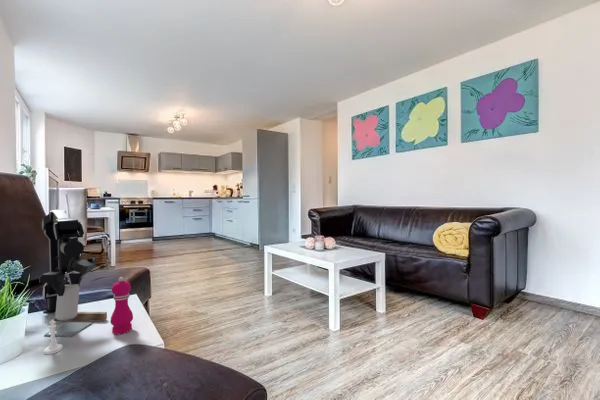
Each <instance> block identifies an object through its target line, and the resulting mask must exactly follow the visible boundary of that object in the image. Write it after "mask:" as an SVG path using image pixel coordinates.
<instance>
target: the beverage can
mask: <svg viewBox="0 0 600 400" xmlns="http://www.w3.org/2000/svg"><path fill="white" fill-rule="evenodd" d="M79 299H80V285H79V286H78V284H71V283H70V284H65V291H64V294H63V296H58V294H57V303H56V314H55V313H54V319H55V318H56V319H57V320H66V319H72V318H75V316H77V312H79V311H78V309H79Z"/></svg>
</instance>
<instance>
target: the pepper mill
mask: <svg viewBox="0 0 600 400" xmlns="http://www.w3.org/2000/svg"><path fill="white" fill-rule="evenodd" d="M117 280H118V281H116V282H114V284H113V285H112V286H111V293H112V294H113V300H114V301H115V304H114V309H113V312H112V314H111V317H110V325H112V327H111V333H112V334H113V335H124V334H126V333H128V332H130V331H131V330H132V327H133V325H132V321H133V320H134V314H133V312H132V310H131V308H130V306H129V301H128V300H129V298H130V291H131V283H130V282H129V281H128V280H125V278H124V277H123V276H120V277H119V278H118V279H117Z"/></svg>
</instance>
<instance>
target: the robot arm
mask: <svg viewBox="0 0 600 400" xmlns="http://www.w3.org/2000/svg"><path fill="white" fill-rule="evenodd" d="M41 229H42V231H43V234H44V235H45V237H46V238H47V239H48V249H49V250H48V252H49V257H48V258H49V271H48V272H45V273H43V274H41V275H40V276H38V280H39V281H38V282H39V284H43V287H42V298H43V300H45V304H46V305H45V308H46V310H43V311H42V313H49V314H50V313H51V314H55V313H56V303H57V294H58V296H63V294H64V291H65V284H78V286H79V287H80V285H81V283H82V279H83V277H84V276H86V275H87V274H89V273H91V272H92V271H93V270H94V268H95V267H97V264H96V263H97V261H96V258H95V257H89V258H88V259H87V258H86V259H83V258H82V253H83V252H84V250H85V247H84V244H83V243H82V242H81V241H79V238H81V239H82V238H83V237H84V234H85V232H84V228H83V225H82V223H81V221H79V219H78V218H76V217H70V216H69V215H68V214H67V211H66V210H65V209H54V210H53V209H52V210H49V213H48V214H47V215H45V216H44V217H42V219H41ZM67 276H68V277H69V279H68V277H67ZM69 280H70V281H69Z"/></svg>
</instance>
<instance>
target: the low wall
mask: <svg viewBox="0 0 600 400" xmlns="http://www.w3.org/2000/svg"><path fill="white" fill-rule="evenodd" d="M55 314H56V313H54V315H55ZM106 319H108V312H107V311H77V316H75V318H72V319H66V320H57V319H56V318H55V317H54V321H61V322H62V321H63V322H64V321H65V322H66V321H67V322H68V321H69V322H71V321H72V322H105V321H107V320H106ZM104 320H105V321H104Z"/></svg>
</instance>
